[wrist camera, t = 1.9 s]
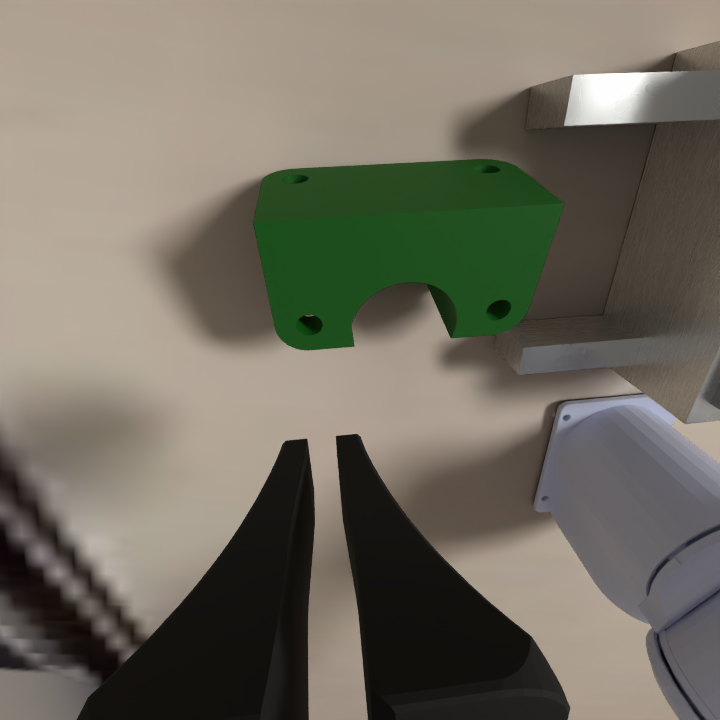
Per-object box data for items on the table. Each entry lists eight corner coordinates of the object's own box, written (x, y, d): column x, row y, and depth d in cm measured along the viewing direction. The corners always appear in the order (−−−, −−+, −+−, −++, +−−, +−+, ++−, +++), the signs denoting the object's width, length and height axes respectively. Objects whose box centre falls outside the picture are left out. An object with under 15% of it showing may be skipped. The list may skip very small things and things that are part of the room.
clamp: (317, 253, 22) (245, 345, 17) (307, 146, 19) (208, 216, 13) (521, 281, 20) (520, 400, 14) (556, 164, 16) (576, 261, 10)
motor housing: (696, 345, 23) (834, 417, 17) (491, 363, 22) (559, 445, 16) (821, 48, 16) (1123, -12, 10) (535, 56, 16) (679, -4, 9)
